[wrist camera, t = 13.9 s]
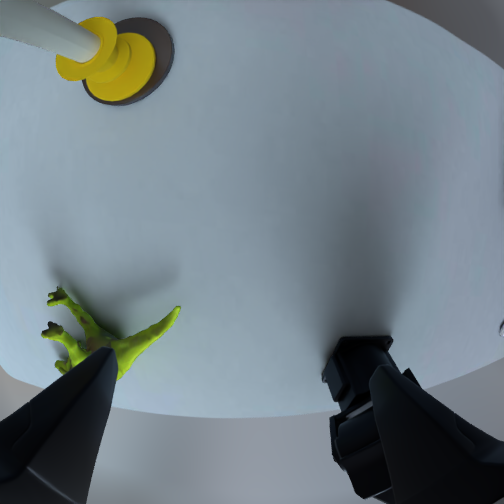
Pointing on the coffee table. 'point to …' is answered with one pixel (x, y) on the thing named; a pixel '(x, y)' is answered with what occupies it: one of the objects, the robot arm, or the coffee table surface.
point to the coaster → (162, 51)
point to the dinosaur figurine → (101, 336)
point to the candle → (83, 48)
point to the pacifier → (502, 331)
